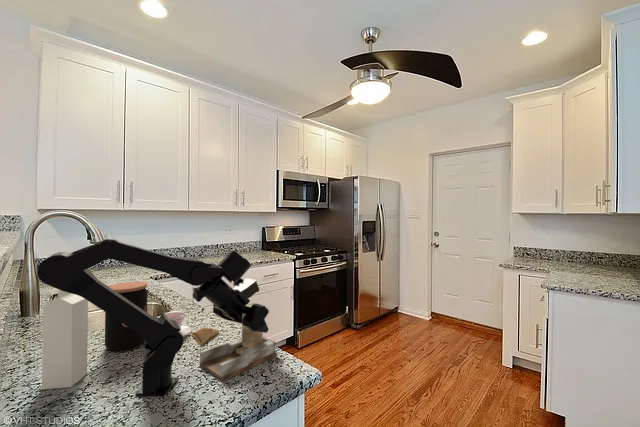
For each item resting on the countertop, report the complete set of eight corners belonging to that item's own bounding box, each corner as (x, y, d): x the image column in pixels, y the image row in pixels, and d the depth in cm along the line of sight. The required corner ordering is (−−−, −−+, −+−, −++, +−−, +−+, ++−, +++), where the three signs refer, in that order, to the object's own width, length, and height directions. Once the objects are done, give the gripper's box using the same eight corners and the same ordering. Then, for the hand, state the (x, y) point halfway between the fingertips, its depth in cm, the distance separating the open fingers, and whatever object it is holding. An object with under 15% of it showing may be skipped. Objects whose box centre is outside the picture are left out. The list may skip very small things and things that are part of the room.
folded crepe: (201, 348, 90) (201, 342, 90) (178, 345, 91) (178, 339, 91) (220, 334, 100) (220, 328, 100) (199, 332, 102) (199, 327, 102)
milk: (87, 374, 74) (89, 284, 74) (71, 387, 68) (73, 290, 68) (59, 375, 73) (61, 285, 73) (40, 390, 67) (43, 291, 67)
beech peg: (249, 359, 79) (249, 310, 79) (235, 352, 83) (236, 305, 84) (268, 351, 84) (268, 305, 84) (254, 345, 88) (254, 301, 88)
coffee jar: (122, 355, 84) (123, 290, 84) (95, 349, 87) (96, 287, 87) (154, 340, 94) (155, 282, 94) (129, 335, 97) (130, 280, 97)
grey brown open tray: (221, 381, 71) (222, 365, 71) (199, 366, 78) (199, 351, 78) (276, 356, 83) (277, 342, 83) (253, 345, 91) (253, 332, 91)
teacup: (196, 334, 99) (197, 315, 99) (156, 344, 91) (156, 324, 91) (185, 324, 108) (185, 307, 108) (147, 333, 100) (147, 314, 100)
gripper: (263, 275, 75) (294, 309, 83) (222, 266, 87) (253, 296, 95) (235, 314, 69) (272, 346, 77) (196, 299, 81) (231, 328, 89)
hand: (257, 326), depth 85 cm, fingers open, 9 cm apart
